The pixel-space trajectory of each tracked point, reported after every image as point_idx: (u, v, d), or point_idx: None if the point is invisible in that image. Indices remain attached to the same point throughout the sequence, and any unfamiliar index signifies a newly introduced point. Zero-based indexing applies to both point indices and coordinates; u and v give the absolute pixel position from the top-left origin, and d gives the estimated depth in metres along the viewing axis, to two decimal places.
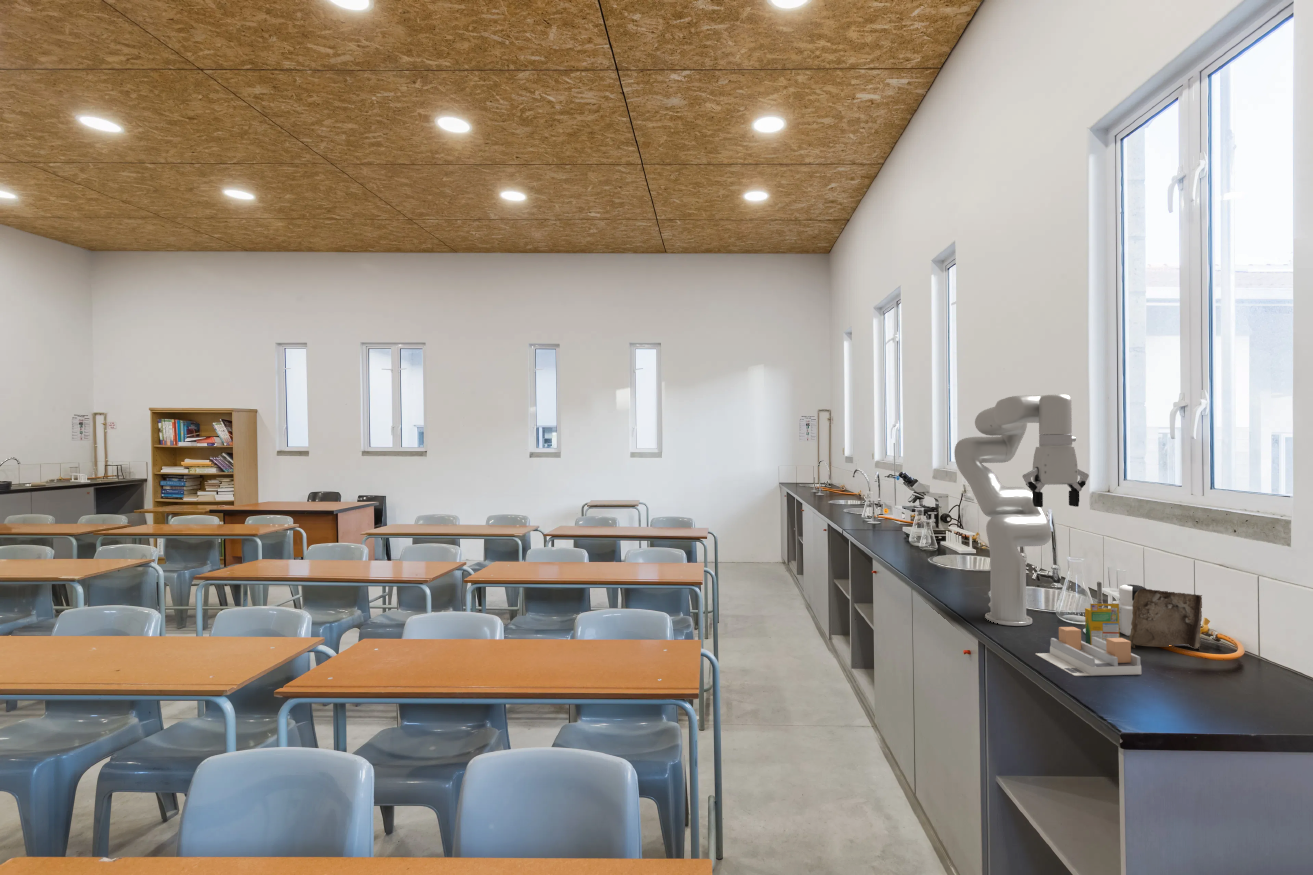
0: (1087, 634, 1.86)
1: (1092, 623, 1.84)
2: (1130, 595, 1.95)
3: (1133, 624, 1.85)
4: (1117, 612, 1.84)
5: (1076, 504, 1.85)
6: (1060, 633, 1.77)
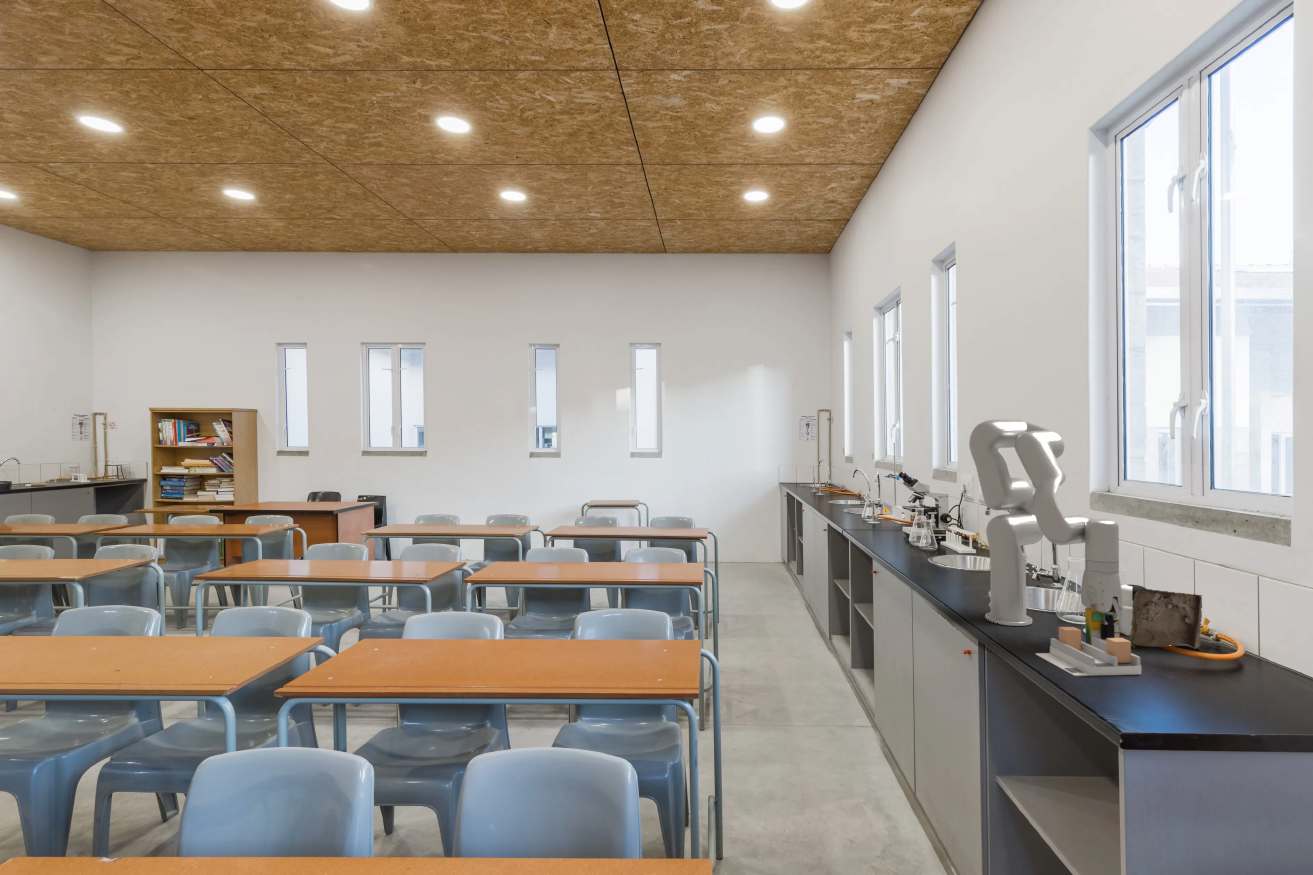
0: (1087, 634, 1.86)
1: (1092, 623, 1.84)
2: (1130, 595, 1.95)
3: (1133, 624, 1.85)
4: None
5: None
6: (1060, 633, 1.77)
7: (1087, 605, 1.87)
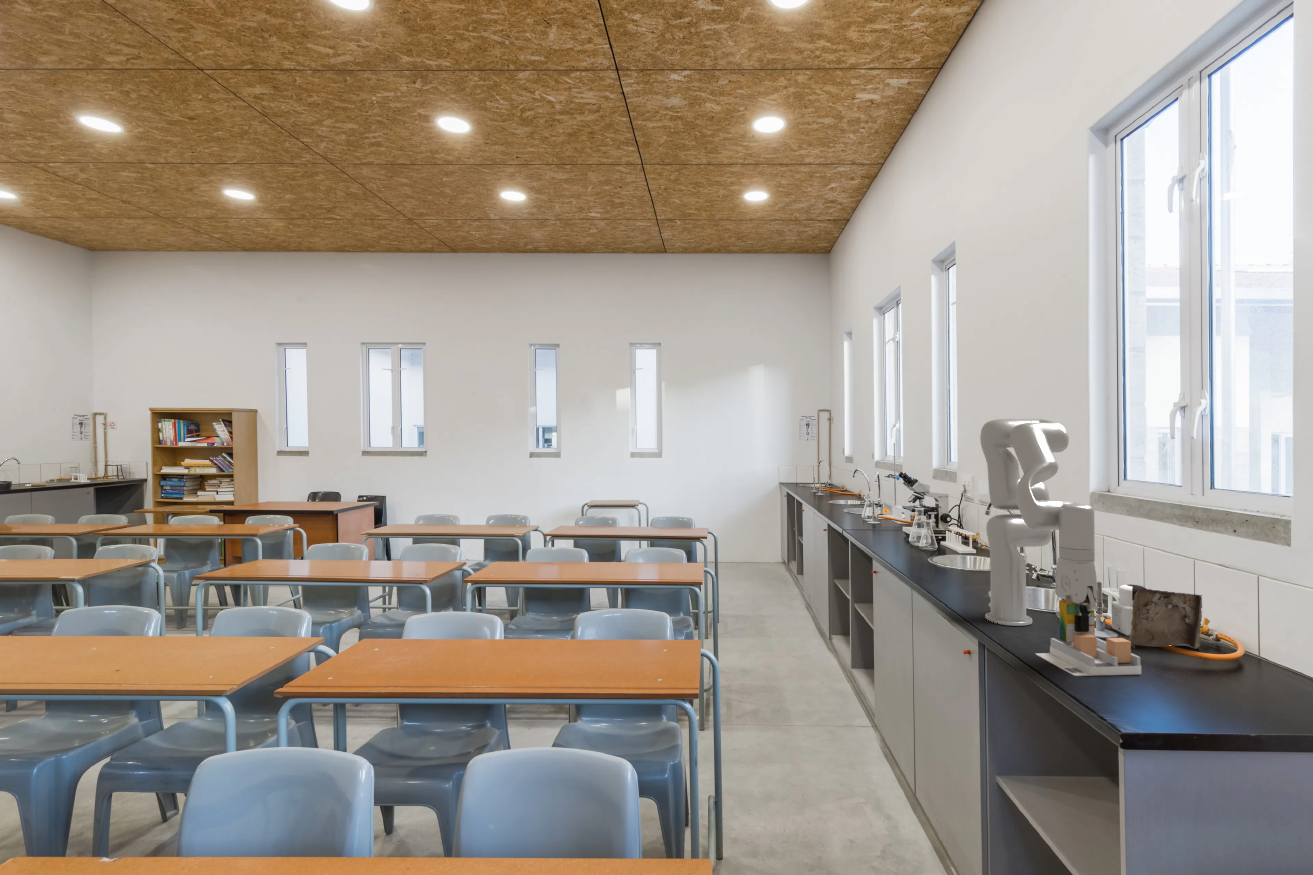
0: (1062, 628, 1.74)
1: (1067, 616, 1.72)
2: (1130, 595, 1.95)
3: (1133, 624, 1.85)
4: None
5: None
6: (1075, 640, 1.72)
7: (1061, 595, 1.75)
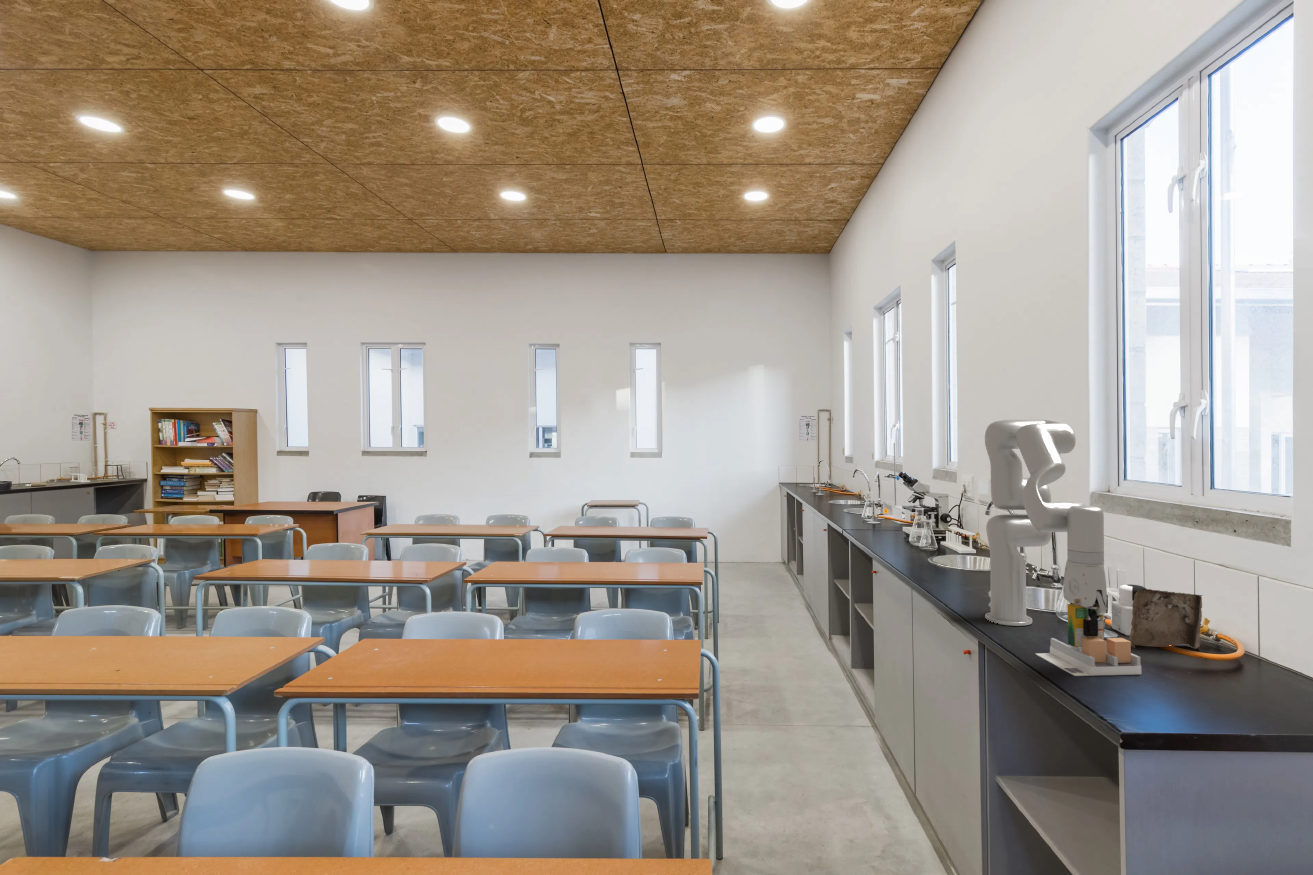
0: (1070, 632, 1.71)
1: (1076, 621, 1.69)
2: (1130, 595, 1.95)
3: (1133, 624, 1.85)
4: None
5: None
6: (1084, 644, 1.68)
7: (1070, 599, 1.72)
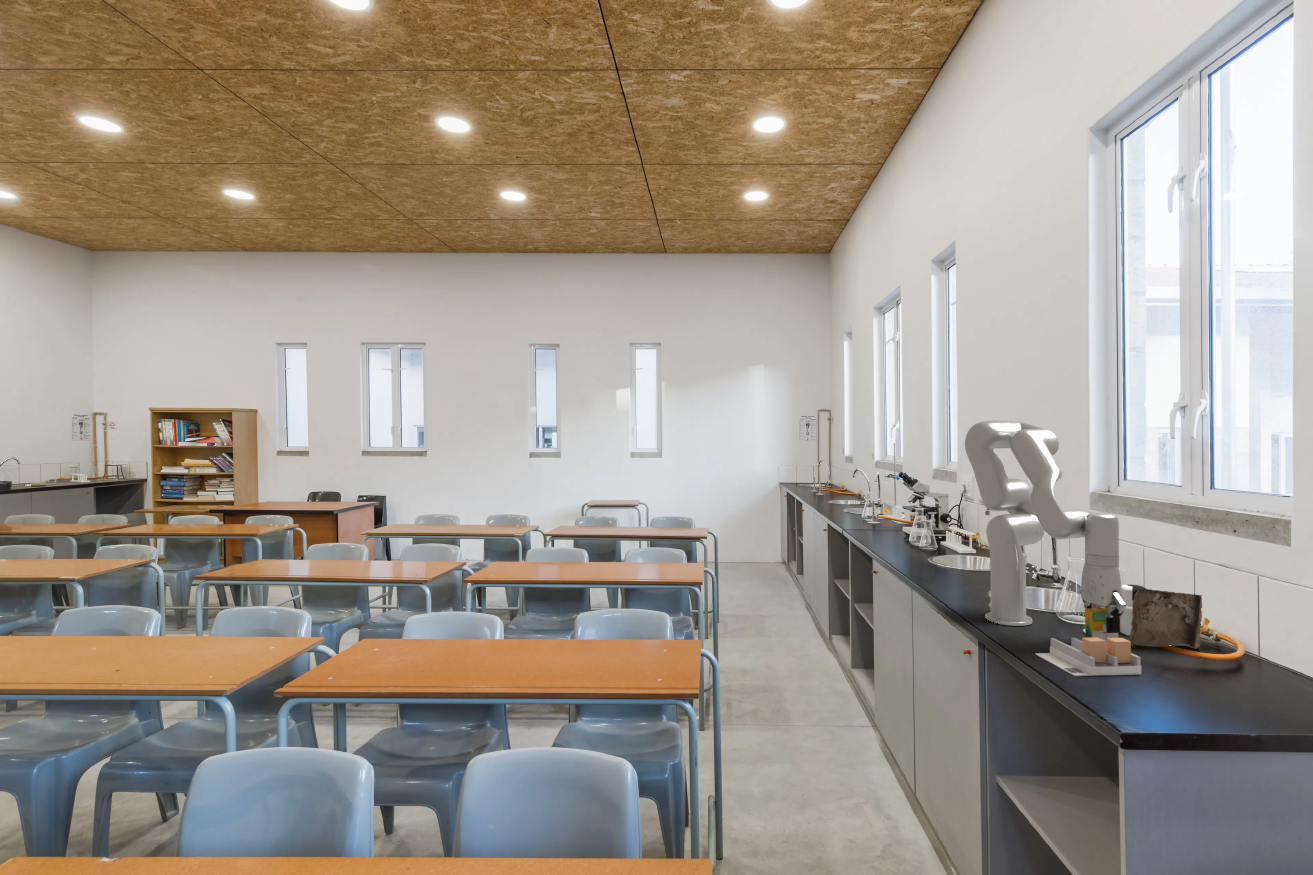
0: (1087, 634, 1.86)
1: (1093, 624, 1.84)
2: (1130, 595, 1.95)
3: (1133, 624, 1.85)
4: None
5: None
6: (1084, 644, 1.68)
7: (1087, 599, 1.87)
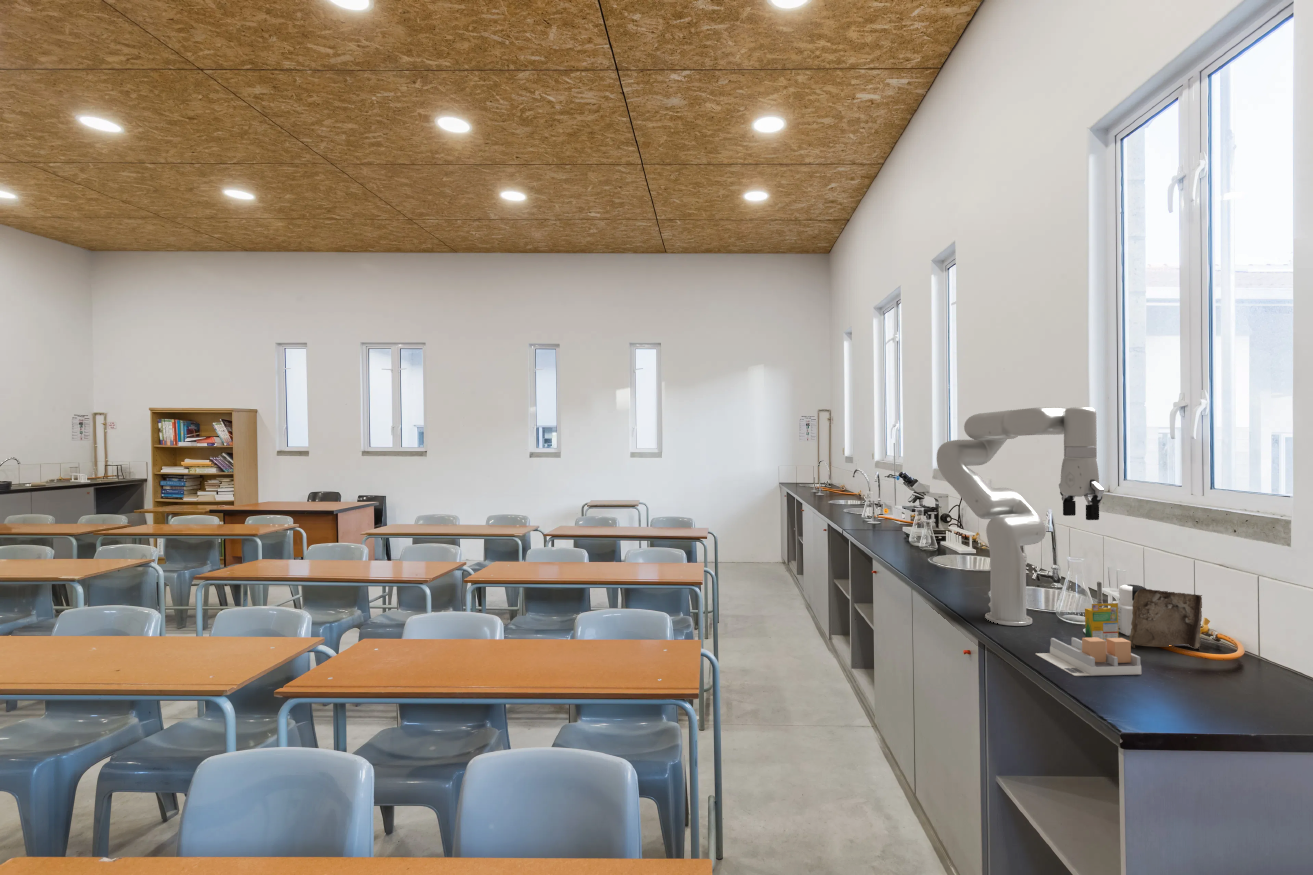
0: (1087, 634, 1.86)
1: (1093, 624, 1.84)
2: (1130, 595, 1.95)
3: (1133, 624, 1.85)
4: (1116, 611, 1.84)
5: None
6: (1084, 644, 1.68)
7: (1066, 492, 1.90)
